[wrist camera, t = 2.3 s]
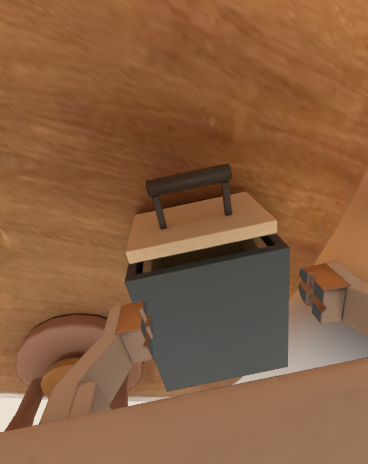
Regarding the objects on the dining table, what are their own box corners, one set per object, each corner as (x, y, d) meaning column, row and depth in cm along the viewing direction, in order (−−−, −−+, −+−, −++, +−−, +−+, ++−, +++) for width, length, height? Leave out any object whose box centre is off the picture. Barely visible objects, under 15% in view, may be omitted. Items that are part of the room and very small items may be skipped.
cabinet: (135, 230, 28) (124, 282, 19) (249, 205, 28) (289, 247, 19) (165, 323, 35) (166, 392, 26) (256, 304, 35) (287, 367, 26)
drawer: (121, 174, 24) (106, 199, 17) (242, 148, 24) (276, 163, 17) (164, 311, 33) (165, 364, 26) (253, 292, 33) (278, 341, 26)
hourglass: (130, 304, 33) (64, 713, 10) (152, 381, 41) (143, 707, 18) (0, 324, 32) (-356, 794, 10) (48, 398, 40) (-91, 753, 18)
